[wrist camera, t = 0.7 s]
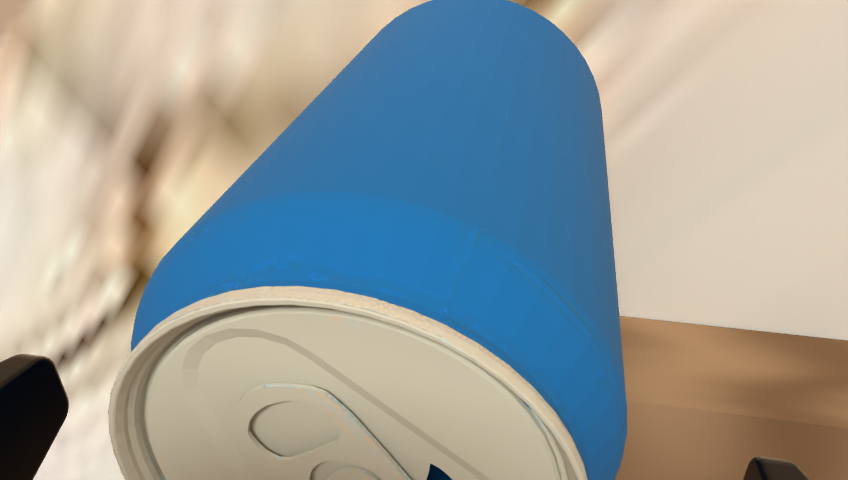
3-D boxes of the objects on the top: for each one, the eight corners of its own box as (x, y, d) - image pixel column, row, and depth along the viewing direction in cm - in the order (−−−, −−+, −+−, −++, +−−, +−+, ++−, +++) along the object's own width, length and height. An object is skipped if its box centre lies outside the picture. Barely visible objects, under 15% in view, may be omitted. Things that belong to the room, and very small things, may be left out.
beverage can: (442, 256, 20) (310, 683, 10) (308, 77, 18) (-31, 395, 8) (646, 156, 17) (742, 611, 7) (515, -70, 15) (395, 132, 5)
